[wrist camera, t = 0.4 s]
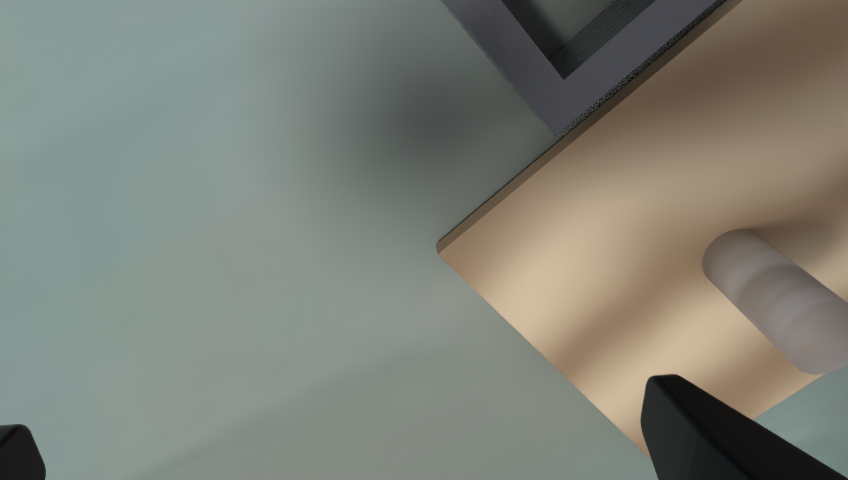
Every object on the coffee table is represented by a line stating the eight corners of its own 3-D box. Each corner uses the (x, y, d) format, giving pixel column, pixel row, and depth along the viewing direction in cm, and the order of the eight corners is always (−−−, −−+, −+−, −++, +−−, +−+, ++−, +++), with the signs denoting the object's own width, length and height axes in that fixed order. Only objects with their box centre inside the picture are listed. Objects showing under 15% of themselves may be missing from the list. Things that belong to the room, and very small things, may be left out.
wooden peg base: (985, 251, 25) (1165, 342, 19) (658, 460, 29) (728, 587, 23) (818, -77, 19) (1007, -85, 13) (435, 244, 23) (456, 343, 17)
